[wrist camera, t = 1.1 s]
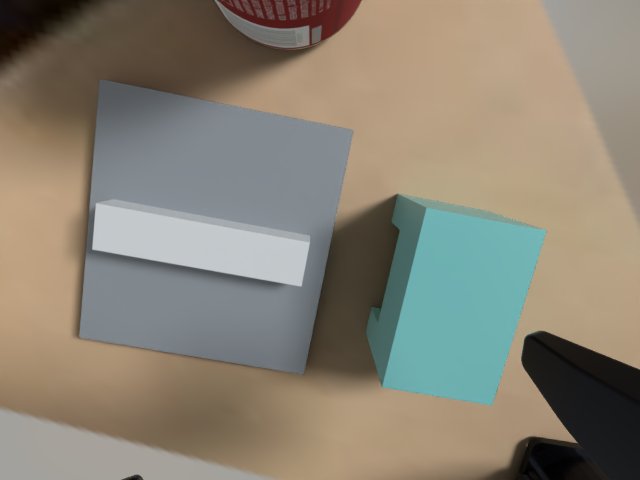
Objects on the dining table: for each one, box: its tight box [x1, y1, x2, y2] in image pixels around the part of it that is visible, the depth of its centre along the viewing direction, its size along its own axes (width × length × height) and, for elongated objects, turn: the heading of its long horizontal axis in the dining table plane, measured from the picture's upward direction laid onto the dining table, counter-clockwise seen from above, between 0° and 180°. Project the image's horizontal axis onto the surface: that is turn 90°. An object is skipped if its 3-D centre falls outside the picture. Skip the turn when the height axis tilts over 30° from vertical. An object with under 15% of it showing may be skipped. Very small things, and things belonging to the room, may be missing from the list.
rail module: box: [366, 194, 546, 405], centre depth 18 cm, size 4×7×5 cm, turn 169°
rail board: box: [79, 79, 353, 375], centre depth 19 cm, size 11×12×2 cm
